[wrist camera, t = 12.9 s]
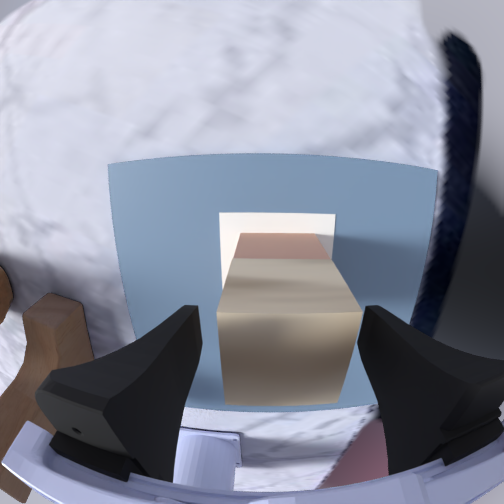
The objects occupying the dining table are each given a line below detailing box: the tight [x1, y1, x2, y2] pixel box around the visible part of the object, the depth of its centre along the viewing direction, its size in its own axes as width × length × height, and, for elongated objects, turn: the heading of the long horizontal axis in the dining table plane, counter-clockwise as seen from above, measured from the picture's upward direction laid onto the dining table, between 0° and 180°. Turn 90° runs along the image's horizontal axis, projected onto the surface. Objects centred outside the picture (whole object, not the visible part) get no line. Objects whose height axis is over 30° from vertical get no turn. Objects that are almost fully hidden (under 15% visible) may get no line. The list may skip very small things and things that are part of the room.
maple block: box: [216, 258, 363, 406], centre depth 11 cm, size 4×4×4 cm
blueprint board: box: [108, 154, 438, 412], centre depth 19 cm, size 22×22×1 cm
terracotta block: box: [233, 233, 330, 259], centre depth 15 cm, size 4×4×4 cm
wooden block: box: [0, 293, 94, 503], centre depth 13 cm, size 9×4×18 cm, turn 171°
